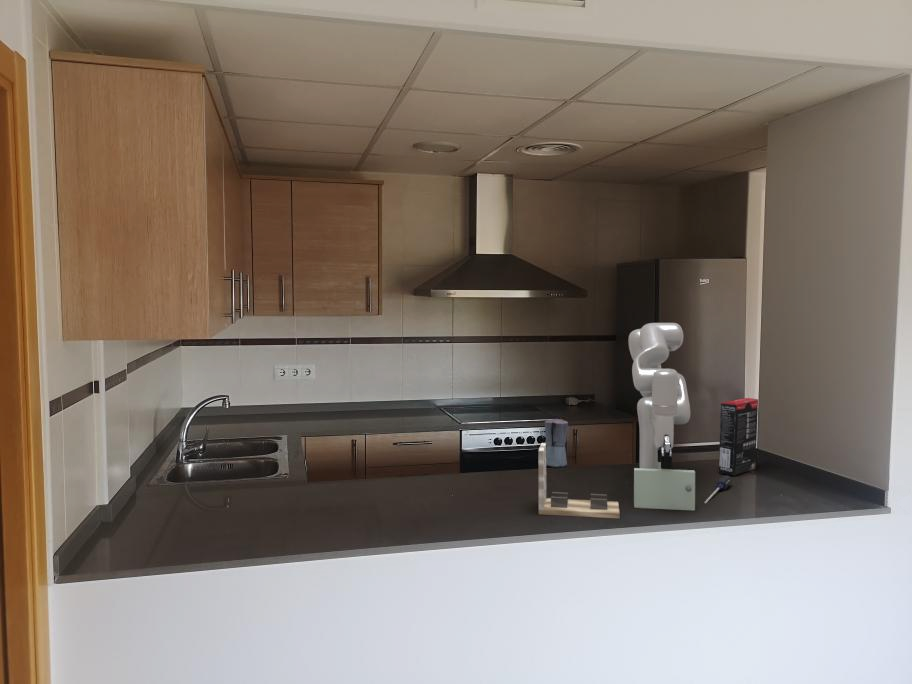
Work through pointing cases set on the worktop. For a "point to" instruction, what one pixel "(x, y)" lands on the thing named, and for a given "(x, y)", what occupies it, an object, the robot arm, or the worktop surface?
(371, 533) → the worktop surface
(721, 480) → the screwdriver
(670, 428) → the robot arm
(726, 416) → the graphics card box
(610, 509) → the hinge base
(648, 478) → the door
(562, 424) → the moka pot
